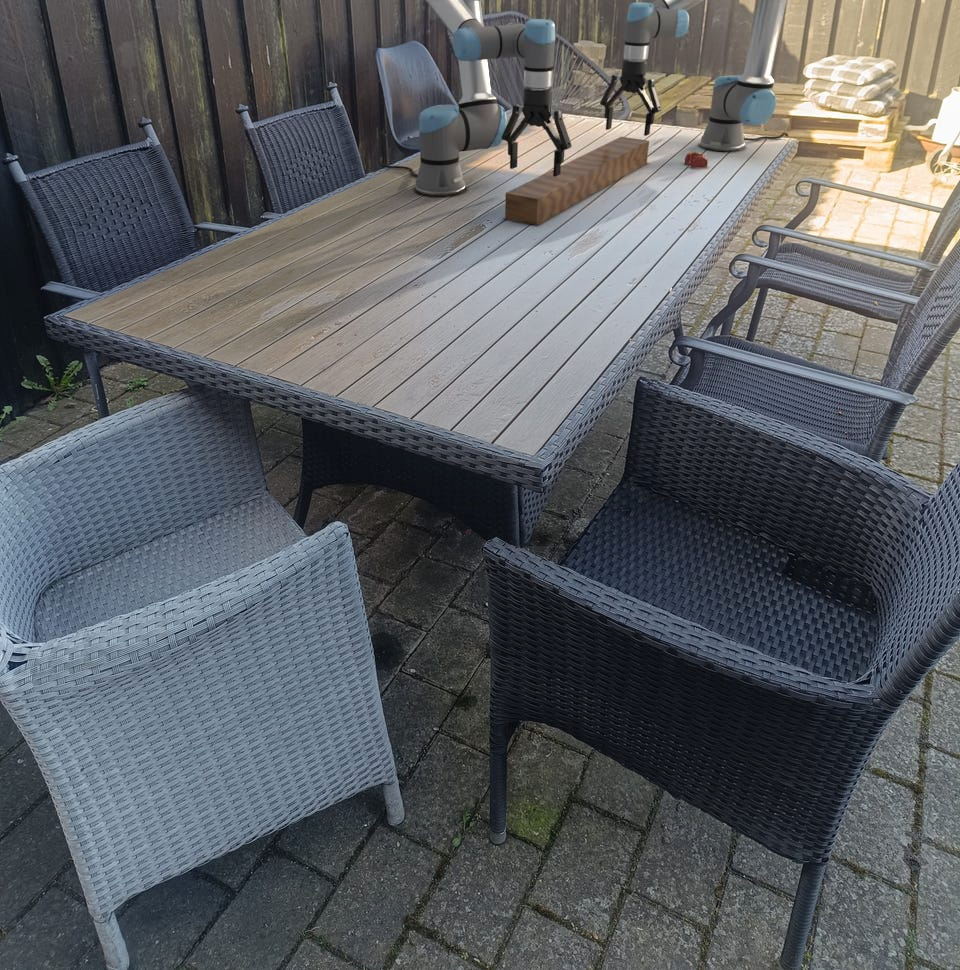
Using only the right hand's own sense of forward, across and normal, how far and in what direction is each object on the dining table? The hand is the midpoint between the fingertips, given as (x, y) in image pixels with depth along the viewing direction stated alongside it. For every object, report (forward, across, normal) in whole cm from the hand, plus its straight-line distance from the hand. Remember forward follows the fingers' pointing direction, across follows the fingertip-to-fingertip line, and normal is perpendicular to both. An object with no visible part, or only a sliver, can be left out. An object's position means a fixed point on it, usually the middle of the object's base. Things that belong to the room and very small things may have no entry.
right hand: (627, 132), depth 274 cm
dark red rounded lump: (+10, -20, -12) cm, 26 cm away
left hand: (-1, 0, +61) cm, 61 cm away
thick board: (+11, 0, +31) cm, 32 cm away
